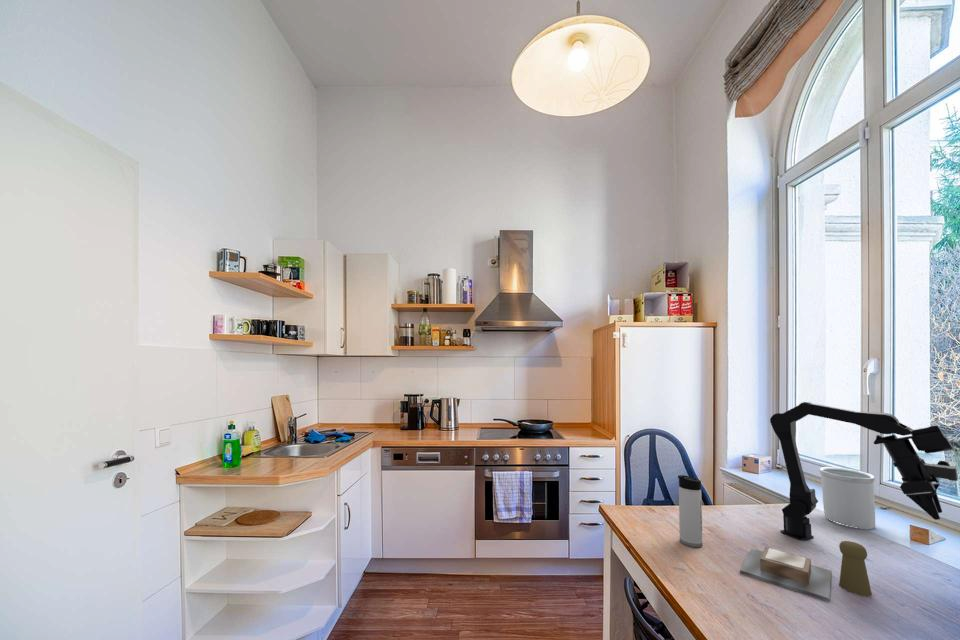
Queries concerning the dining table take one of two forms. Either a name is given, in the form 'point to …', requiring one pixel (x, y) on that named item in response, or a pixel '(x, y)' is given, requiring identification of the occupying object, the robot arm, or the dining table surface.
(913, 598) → the dining table surface
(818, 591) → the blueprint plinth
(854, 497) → the utensil holder
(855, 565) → the cork
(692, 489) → the travel mug
